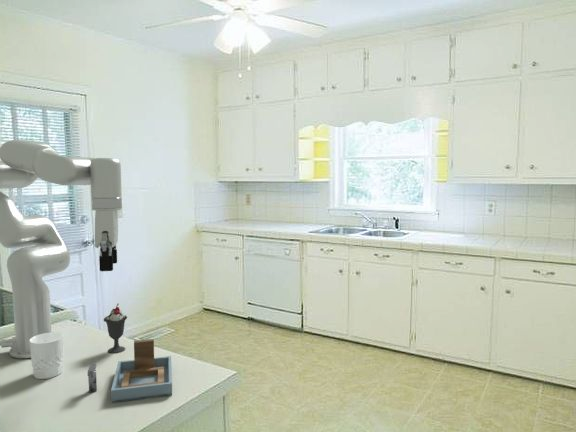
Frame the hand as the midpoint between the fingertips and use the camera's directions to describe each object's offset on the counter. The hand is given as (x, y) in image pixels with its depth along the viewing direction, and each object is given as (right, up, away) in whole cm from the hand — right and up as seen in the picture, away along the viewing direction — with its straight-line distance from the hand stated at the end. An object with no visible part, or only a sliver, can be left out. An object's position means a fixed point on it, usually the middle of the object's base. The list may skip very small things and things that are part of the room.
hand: (108, 267), depth 118 cm
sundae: (-3, -27, +14) cm, 31 cm away
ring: (+12, -29, -6) cm, 31 cm away
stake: (0, -29, -11) cm, 31 cm away
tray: (+12, -29, -6) cm, 32 cm away
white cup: (-16, -29, -2) cm, 33 cm away
